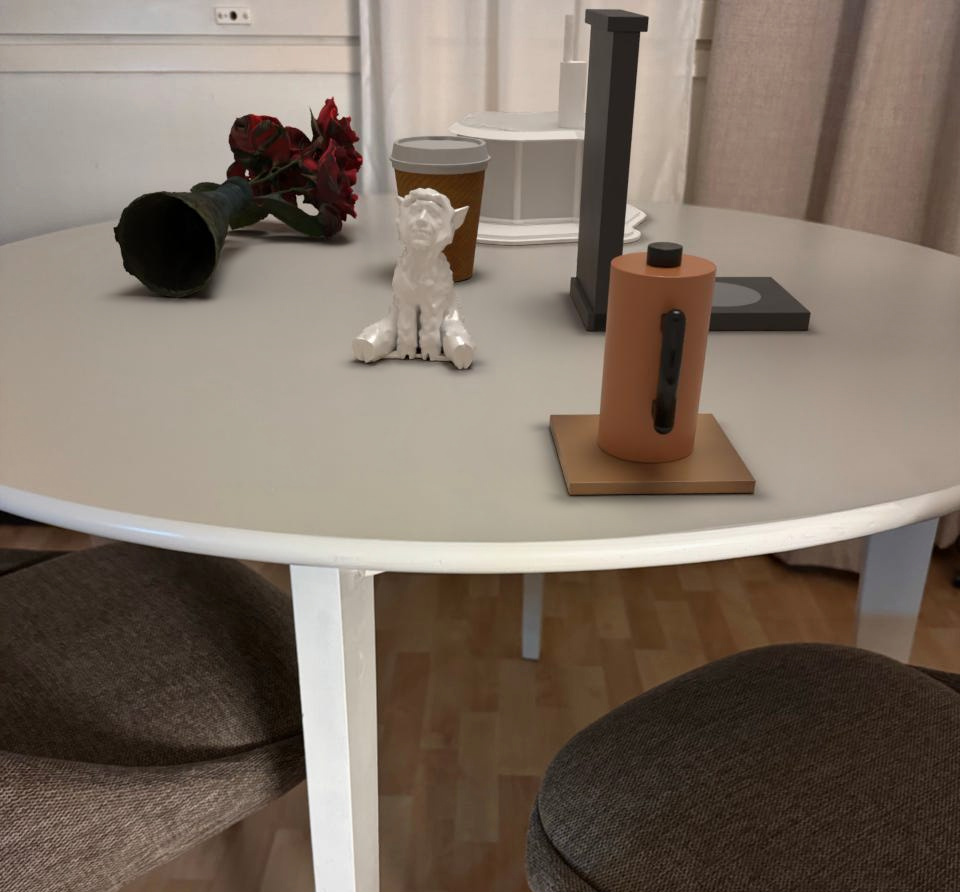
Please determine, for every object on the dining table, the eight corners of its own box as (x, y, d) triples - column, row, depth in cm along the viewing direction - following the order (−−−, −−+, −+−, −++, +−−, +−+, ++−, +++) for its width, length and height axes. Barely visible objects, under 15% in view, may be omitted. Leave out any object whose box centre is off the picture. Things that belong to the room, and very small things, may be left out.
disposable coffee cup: (503, 269, 107) (507, 139, 101) (463, 291, 100) (463, 152, 93) (420, 259, 110) (418, 132, 104) (374, 279, 103) (369, 144, 97)
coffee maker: (768, 292, 101) (811, 11, 88) (808, 330, 90) (864, 18, 78) (569, 292, 100) (585, 8, 88) (587, 331, 90) (608, 15, 77)
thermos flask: (682, 426, 69) (705, 234, 63) (710, 475, 63) (739, 266, 56) (591, 427, 69) (605, 233, 63) (610, 476, 62) (627, 266, 56)
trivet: (710, 424, 72) (712, 413, 72) (754, 493, 63) (756, 480, 62) (549, 425, 71) (549, 414, 71) (569, 495, 62) (569, 482, 62)
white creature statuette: (350, 363, 82) (341, 197, 75) (375, 331, 89) (369, 176, 82) (472, 370, 81) (473, 203, 74) (487, 337, 88) (490, 181, 81)
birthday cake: (365, 215, 129) (356, 9, 117) (533, 188, 145) (539, 5, 133) (540, 262, 110) (550, 22, 98) (710, 225, 126) (735, 15, 115)
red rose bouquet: (201, 378, 101) (297, 267, 129) (334, 255, 93) (407, 165, 121) (70, 246, 95) (201, 160, 123) (200, 101, 87) (309, 44, 115)
